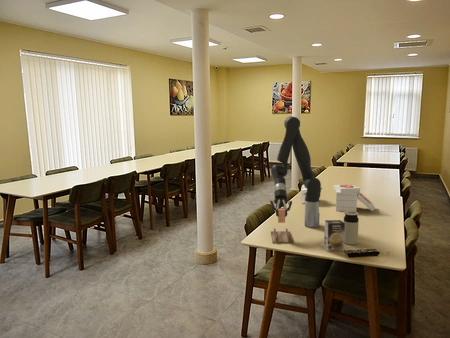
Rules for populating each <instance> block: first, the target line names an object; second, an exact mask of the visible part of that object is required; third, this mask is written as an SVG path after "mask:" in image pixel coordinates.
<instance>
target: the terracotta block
mask: <svg viewBox="0 0 450 338" xmlns="http://www.w3.org/2000/svg"><path fill="white" fill-rule="evenodd" d="M278 214H279V216H278V217H277V223H278V224H279V223H281V224H284V223H286V217H285V208H283V207H279V208H278Z"/></svg>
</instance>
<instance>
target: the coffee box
mask: <svg viewBox="0 0 450 338" xmlns="http://www.w3.org/2000/svg"><path fill="white" fill-rule="evenodd" d="M344 231H345V223H344V220H341V219H340V220H339V219H337V220H336V219H330V220H329V219H328V220H326V219H325V220H324V238H323V240H324V241H323V248H324V249H325V251H326V252H329V253H330V252H344V249H345V248H344V246H345V243H344Z"/></svg>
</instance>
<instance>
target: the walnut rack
mask: <svg viewBox="0 0 450 338" xmlns="http://www.w3.org/2000/svg"><path fill="white" fill-rule="evenodd" d="M276 230H277V229H276V228H273V231H270V236H271V242H272V244H294V240H293V237H292V233H291V231H289V230H288V228H285V230H283V231H278V230H277V231H276Z"/></svg>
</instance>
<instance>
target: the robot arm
mask: <svg viewBox="0 0 450 338" xmlns="http://www.w3.org/2000/svg"><path fill="white" fill-rule="evenodd" d="M283 123H284V124H283V126H284V129H285V132H284V133H285V134H284V138H283V141H282V142H281V145H280V147H279V151H278V153H277V154H278V155H277V158H276V160H277V162H280V163H281V164H282V165H279V164H273V165H272V166H271V168H270V172H271V173H270V174H271V176H272V178H273V182H274V184H273V185H274V189H273V190H274V191H273V192H274V200H270V201H269V204H270V207H271V209H272V211H275V216H276V217H277V218H278V216H279V214H278V208H285V218H286V217H287V216H288V212H290V211H291V209H292V205H293V201H292V200H289V199H288V196H287V193H288V192H287V185H286V178H285V177H287V174H288V164H289V163H288V161H289V157H290V154H291V150H292V151H293V154H294V157H295V159H296V160H295V161H296V163H297V166H298V168H299V170H300V173H301V177H302V182H303V185H304V186H305V188H307V195H306V196H305V203H304V226H305V227H307V228H319V227H320V198H321V194H322V193H321V192H322V190H321V188H322V183H321V180H320V179H319V178H317V177H315V175H314V173H313V170H312V166H311V165H312V164H311V163H312V161H311V160H312V159H311V155H310V151H309V149H308V146H307V143H306V142H305V141H304V138H303V136H302V135H301V131H300V127H301V120H300V119H299V118H298V117H295V116H288V117H286V118H285V120H284V122H283ZM287 204H288V207H287ZM275 205H276V206H275Z"/></svg>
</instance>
